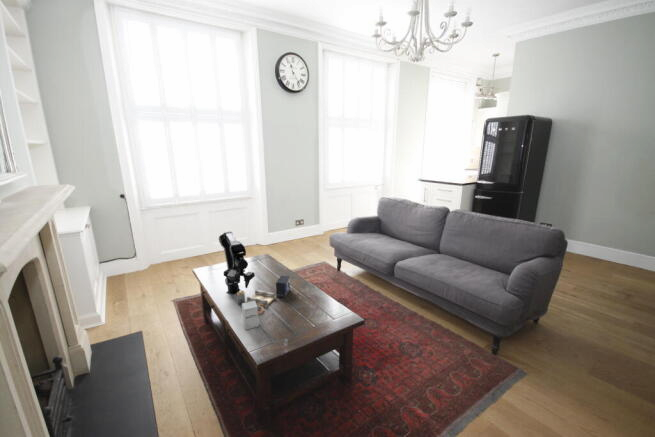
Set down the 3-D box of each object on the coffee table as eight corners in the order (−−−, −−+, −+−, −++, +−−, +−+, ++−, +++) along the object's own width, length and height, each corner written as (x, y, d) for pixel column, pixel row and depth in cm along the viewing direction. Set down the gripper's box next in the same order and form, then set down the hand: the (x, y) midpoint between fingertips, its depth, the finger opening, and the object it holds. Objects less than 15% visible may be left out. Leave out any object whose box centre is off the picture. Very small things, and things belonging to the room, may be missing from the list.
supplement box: (245, 330, 161) (243, 309, 158) (243, 322, 168) (241, 302, 165) (259, 327, 164) (257, 306, 161) (256, 319, 171) (255, 300, 167)
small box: (285, 297, 194) (284, 283, 191) (276, 296, 195) (275, 282, 192) (290, 290, 204) (290, 275, 201) (281, 289, 205) (280, 275, 202)
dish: (247, 313, 176) (247, 308, 175) (254, 306, 184) (254, 301, 183) (259, 316, 174) (258, 310, 173) (266, 309, 181) (266, 303, 180)
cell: (236, 304, 186) (235, 292, 184) (240, 301, 190) (239, 289, 188) (242, 305, 185) (241, 294, 182) (246, 302, 189) (245, 290, 186)
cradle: (246, 303, 187) (246, 298, 186) (256, 294, 198) (256, 289, 197) (266, 307, 183) (265, 302, 182) (275, 297, 194) (275, 292, 193)
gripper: (216, 266, 176) (218, 290, 180) (243, 271, 170) (245, 295, 174) (228, 259, 186) (230, 282, 190) (254, 263, 180) (256, 286, 184)
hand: (240, 286), depth 184 cm, fingers open, 9 cm apart
